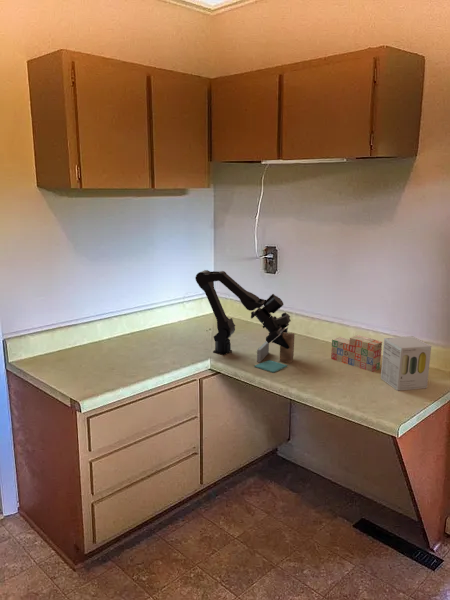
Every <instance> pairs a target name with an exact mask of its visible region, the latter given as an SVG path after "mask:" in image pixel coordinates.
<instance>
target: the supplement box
mask: <svg viewBox="0 0 450 600" xmlns="http://www.w3.org/2000/svg"><path fill="white" fill-rule="evenodd" d="M431 351H432V345H431V344H428V343H427V342H424V341H423V340H421V339H419V338H417V337H415V336H412V335H411V336H397V337H384V338H383V346H382V358H381V368H380V369H381V371H380V379H381V380H382V381H383V382H385V383H387V384H388V386H391V387H392V388H393V389H394V390H396V391H409V390H410V391H411V390H419V389H427V388H428V382H429V381H428V380H429V371H430V362H431V361H430V360H431V355H432V354H431V353H432V352H431Z"/></svg>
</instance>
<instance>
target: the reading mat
mask: <svg viewBox="0 0 450 600" xmlns="http://www.w3.org/2000/svg"><path fill="white" fill-rule="evenodd" d="M254 368H257V369H260V370H263V371H267V372H269V371H270V373H274V374H275V373H277V372H278V371H280V370H283V369H286V368H288V364H284V363H282V362H281V363H280V362H277V361H275V360H274V361H273V360H271V359H267V360H266V361H261V362H259V363H257V364H255V365H254Z"/></svg>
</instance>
